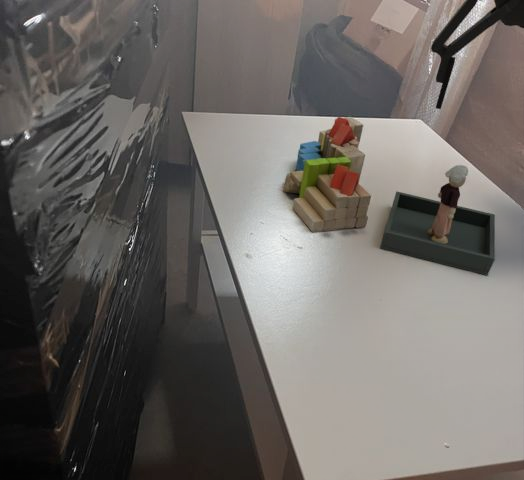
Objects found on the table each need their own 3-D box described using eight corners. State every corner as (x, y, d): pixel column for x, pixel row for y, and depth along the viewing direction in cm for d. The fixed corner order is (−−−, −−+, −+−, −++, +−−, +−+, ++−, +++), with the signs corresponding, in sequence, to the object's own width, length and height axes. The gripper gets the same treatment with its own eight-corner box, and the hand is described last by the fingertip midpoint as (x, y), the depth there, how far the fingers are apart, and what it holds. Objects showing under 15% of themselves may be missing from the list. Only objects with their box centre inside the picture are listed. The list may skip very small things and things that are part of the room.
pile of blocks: (285, 142, 123) (292, 88, 116) (353, 151, 124) (365, 97, 116) (281, 228, 97) (290, 165, 89) (367, 239, 97) (384, 177, 90)
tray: (488, 229, 104) (494, 214, 102) (487, 275, 93) (494, 259, 91) (392, 206, 107) (396, 191, 105) (379, 248, 96) (384, 231, 94)
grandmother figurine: (456, 247, 97) (484, 176, 89) (436, 247, 96) (461, 176, 88) (437, 223, 103) (461, 154, 94) (417, 223, 102) (440, 154, 93)
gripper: (442, -71, 71) (398, 106, 85) (657, -38, 67) (574, 141, 81) (445, -76, 77) (404, 91, 91) (645, -46, 73) (569, 123, 87)
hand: (484, 115), depth 86 cm, fingers open, 13 cm apart
